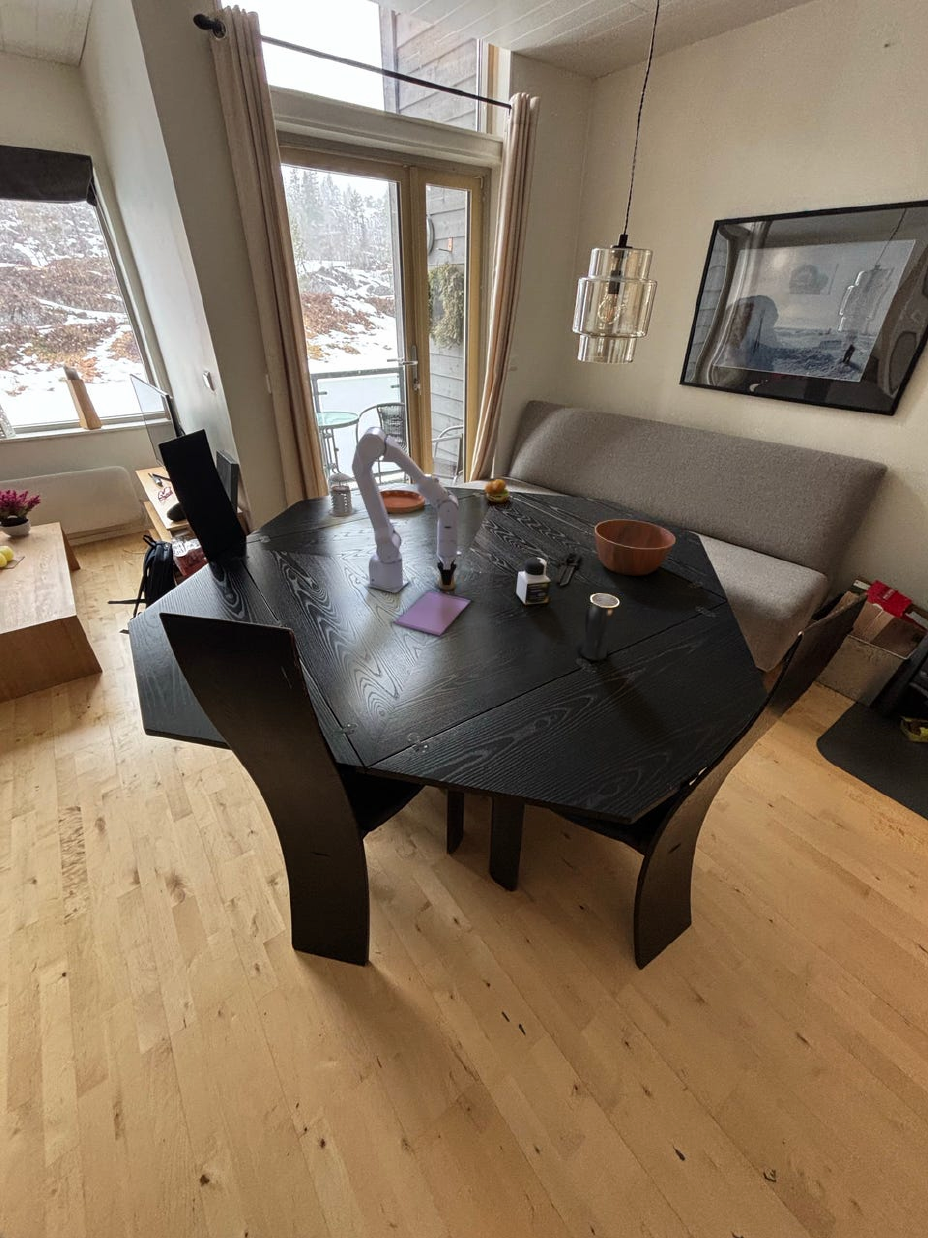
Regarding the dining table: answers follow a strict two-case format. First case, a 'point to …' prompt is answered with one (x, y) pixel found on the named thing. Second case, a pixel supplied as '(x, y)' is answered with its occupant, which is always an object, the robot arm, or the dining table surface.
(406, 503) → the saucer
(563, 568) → the knife
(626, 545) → the bowl
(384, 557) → the robot arm
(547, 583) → the medicine bottle
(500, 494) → the cheeseburger
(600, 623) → the beer glass
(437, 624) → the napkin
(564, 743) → the dining table surface
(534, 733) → the dining table surface
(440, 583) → the salt mill
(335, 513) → the french press
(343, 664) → the dining table surface
